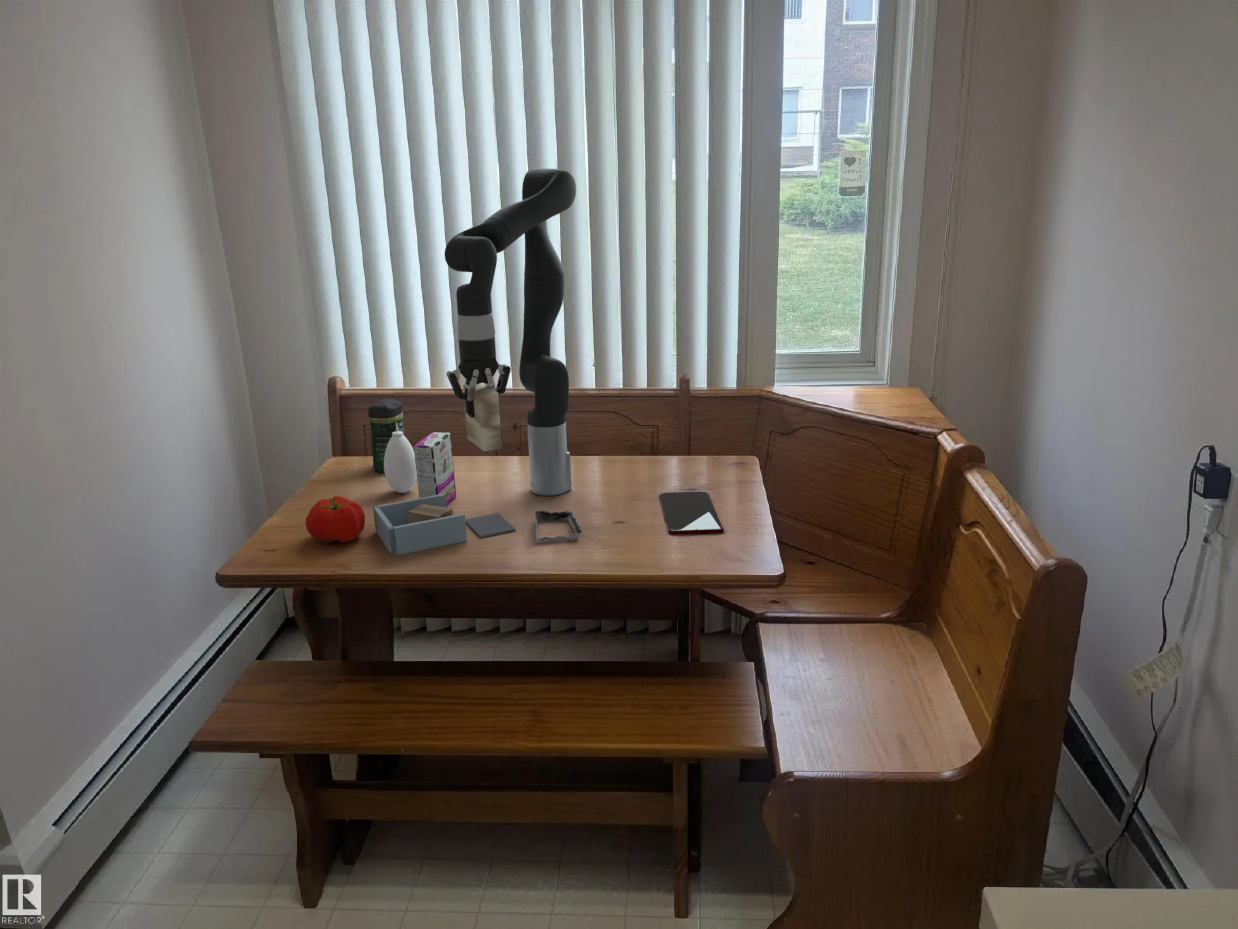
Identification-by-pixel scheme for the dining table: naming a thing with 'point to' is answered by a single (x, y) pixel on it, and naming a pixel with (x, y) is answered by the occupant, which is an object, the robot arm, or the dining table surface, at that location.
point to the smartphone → (690, 513)
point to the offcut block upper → (428, 513)
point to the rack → (417, 526)
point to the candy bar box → (435, 466)
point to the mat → (489, 525)
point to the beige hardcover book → (484, 419)
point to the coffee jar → (384, 427)
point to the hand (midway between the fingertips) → (481, 414)
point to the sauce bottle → (400, 463)
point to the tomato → (335, 520)
